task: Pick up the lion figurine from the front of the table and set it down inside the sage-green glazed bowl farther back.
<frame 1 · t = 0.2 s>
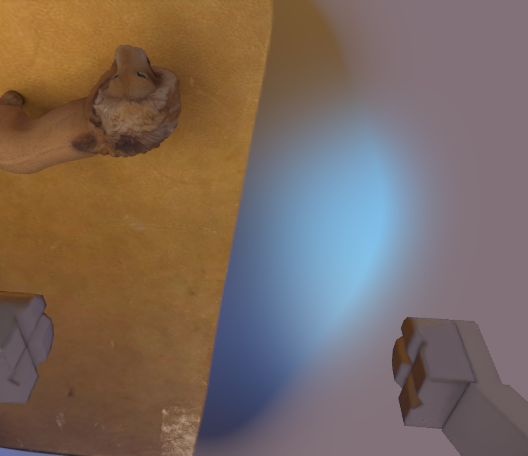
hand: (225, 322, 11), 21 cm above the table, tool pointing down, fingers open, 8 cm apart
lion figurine: (98, 83, 30), on the table
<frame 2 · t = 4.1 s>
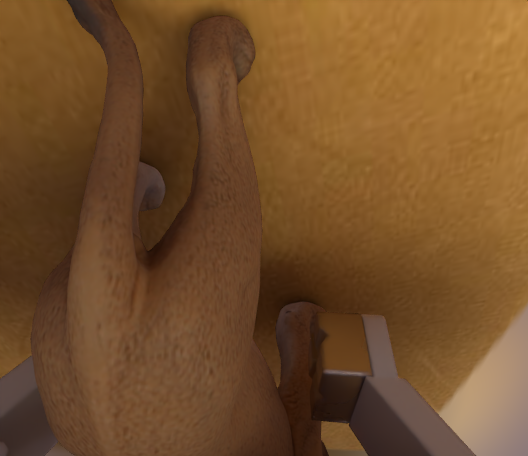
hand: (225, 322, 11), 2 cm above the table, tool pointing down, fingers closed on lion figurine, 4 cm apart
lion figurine: (257, 251, 13), on the table, touching gripper
when the fingers open (3 cm above the table, at t = 11.7 s): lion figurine stays where it is, resting on bowl.
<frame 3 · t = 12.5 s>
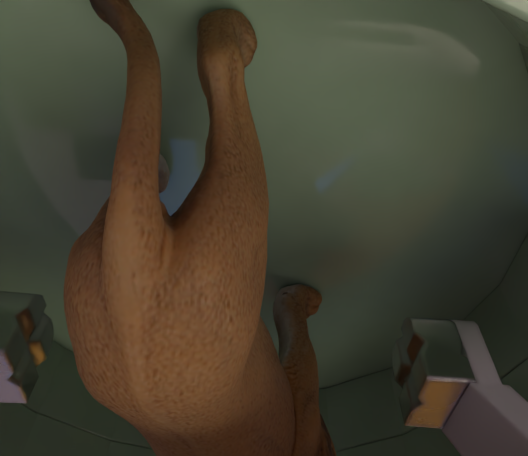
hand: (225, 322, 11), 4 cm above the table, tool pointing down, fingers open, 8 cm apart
bowl: (233, 221, 14), on the table
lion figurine: (255, 236, 14), resting on bowl
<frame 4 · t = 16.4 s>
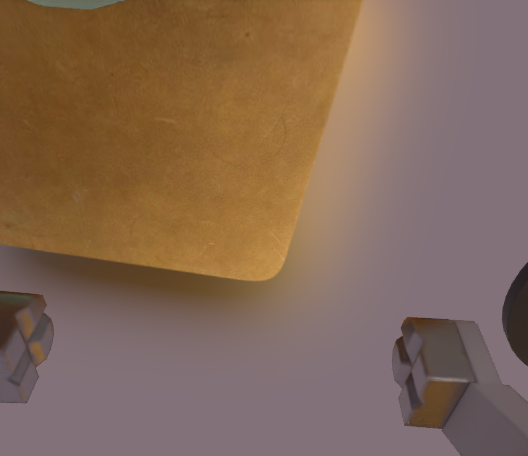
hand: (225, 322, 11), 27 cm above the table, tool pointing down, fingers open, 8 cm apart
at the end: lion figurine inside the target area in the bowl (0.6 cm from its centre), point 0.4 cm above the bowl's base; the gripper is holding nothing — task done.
